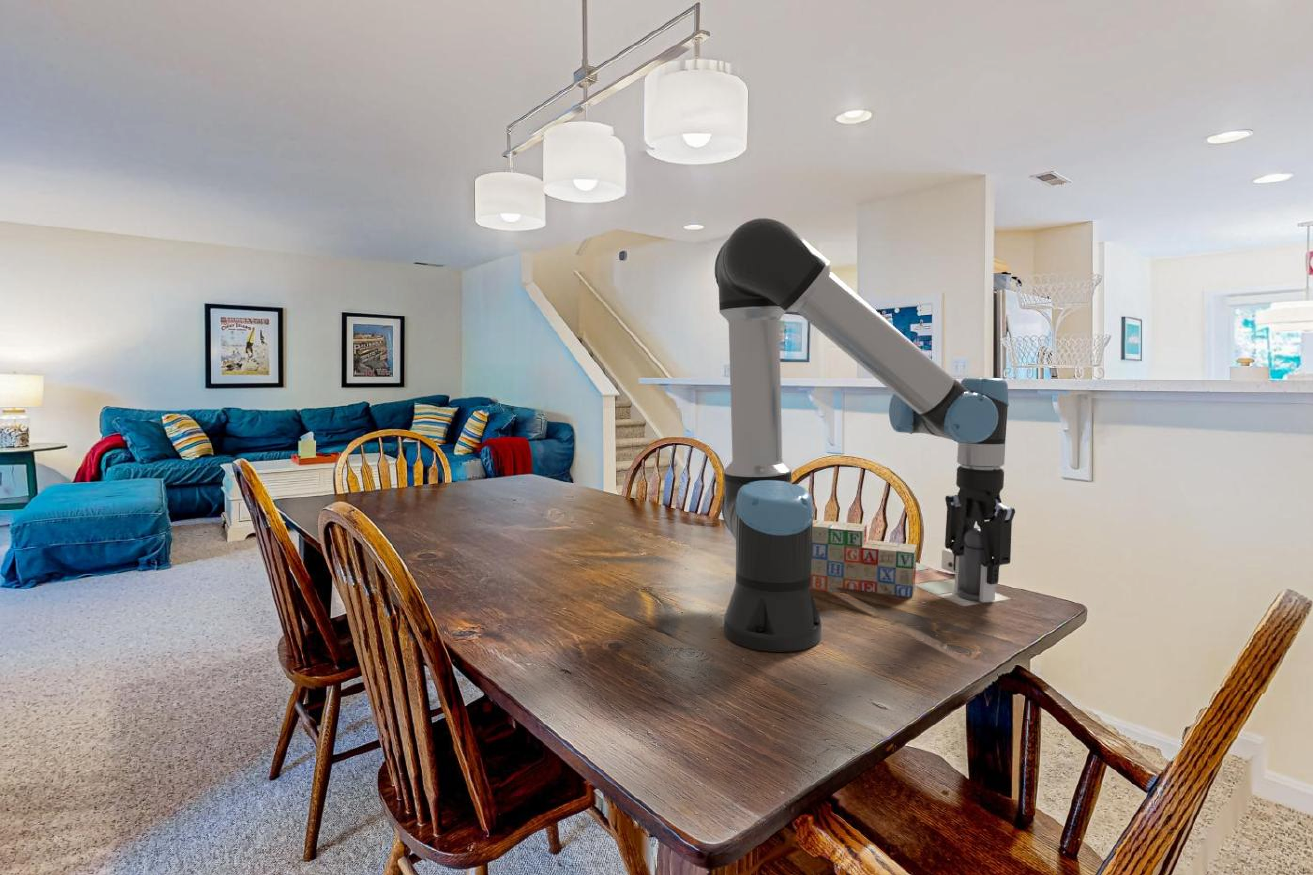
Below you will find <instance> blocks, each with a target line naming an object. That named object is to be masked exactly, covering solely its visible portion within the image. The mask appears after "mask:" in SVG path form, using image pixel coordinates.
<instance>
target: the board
mask: <svg viewBox="0 0 1313 875" xmlns="http://www.w3.org/2000/svg"><path fill="white" fill-rule="evenodd" d="M926 569H928V570H926ZM932 570H933V571H932ZM954 587H955V576H953V575H951V574H948V573H945V572H944V571H941V570H937V569H936V568H932V567H930V566H927V565H924V564H921V563H919V562H917V561H916V577H915V588H918V589H921V590H922V591H926V592H927V593H929V594H932V595H936V596H937V597H939V598H943V600H947V601H949V602H951V603H954V604H956V605H959V606H961V607H968V606H973V605H974V606H976V605H982V604H987V603H988V604H989V603H994V602H1000V601H1008V600H1012V598H1011V597H1008V596H1005V595H1003V594H1000V593H998V592H995V601H989V602H975V601H969V600H965V599H962V598H960V597H959V596H958V592H956V591H954Z"/></svg>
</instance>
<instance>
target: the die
mask: <svg viewBox="0 0 1313 875" xmlns="http://www.w3.org/2000/svg"><path fill="white" fill-rule="evenodd" d="M953 564H954V554H953V553H952V551H951V550H950V549H947V548H943V549H941V564H940V565H941V566H940V567H941V569H943V570H945V571H948V572H951V573H952V574H955V571H954V569H953Z"/></svg>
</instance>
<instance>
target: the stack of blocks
mask: <svg viewBox="0 0 1313 875" xmlns="http://www.w3.org/2000/svg"><path fill="white" fill-rule="evenodd" d="M867 527H868V526H867V524H865V523H855V522H854V523H853V522H846V521H845V522H843V521H830V520H817V519H813V524H812V562H811V590H814V591H820V592H821V591H823V592H828V591H829V593H835V592H836V594H844V593H845V595H848V593H847V592H845V591H843V590H841V589H848V590H855V591H861V592H862V591H863V592H870V593H877V594H881V595H882V594H883V595H889V596H899V597H905V598H906V597H907V598H913V597H914V593H915V591H916V590H915V589H916V586H915V577H916V562H917V550H918V549H917V547H918V545H917V544H912V543H911V544H910V543H900V542H892V541H882V540H871V539H868V540H867V533H868V532H867Z"/></svg>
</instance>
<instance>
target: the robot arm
mask: <svg viewBox="0 0 1313 875" xmlns="http://www.w3.org/2000/svg"><path fill="white" fill-rule="evenodd" d="M830 264H831V263H830V260H828V259H827V258H826V257H825V256H824V255H822V253H820V252H819V251H818V250H817V249H815V247H814V246H812V245H811V244H810V243H809V242H808V241H807V240H806V239H804V238H803V237H802V236H801V235H800V234H798V233H797V232H796V231H795V230H793V229H792V228H791V227H790V226H788V225H786V224H785V223H783V222H781V221H778V220H776V219H772V218H767V217H765V218H764V217H763V218H761V217H759V218H755V219H751V220H748V221H746V222H744V223H743V224H741V225H740V226H738V227H737V228H736V229H734V231H733V232H732V234H731V235H730V237H729V238H728V239H727V240H726V241H725V242H724V243H723V245H722V246H721V247H720V248H719V251H718V253H717V256H716V258H715V263H714V278H715V281H716V284H717V287H718V305H719V307H718V308H719V309H718V310H719V311H718V312H719V314H720V315H721V316H722V317H723V318H724V319H725V320H726V321H727V322H728V323H727V324H728V343H729V350H728V351H729V352H728V353H729V384H730V386H729V388H730V418H731V454H732V455H731V456H732V459H731V462H730V463H729V464H728V465H727V466H726V467H725V469H723V475H724V476H723V479H724V483H723V484H724V492H723V493H724V494H723V496H722V500H721V501H722V502H721V515H722V519H723V522H724V524H725V525H726V527H727V529H728V530H729V531H730V533H731V534H732V536H733V538H734V540H735V584H734V588H733V591H732V593H731V596H730V599H729V603H728V606H727V609H726V612H725V614H724V617H723V618H724V619H723V633H724V635H725V637H726V638H727V639H728V640H730V641H732V642H733V643H735V644H737V645H739V646H741V647H745V648H747V649H752V650H755V651H762V652H763V651H764V652H771V653H772V652H773V653H790V652H798V651H804V650H807V649H810V648H813V647H814V646H816V645H817V644H818V643H819V642H820V641H821V640H822V620H821V617H820V614H819V610H818V607H817V604H816V600H815V597H814V594H813V589H811V562H812V524H813V520H814V516H815V511H814V510H815V509H814V507H813V497H812V495H811V493H810V492H809V490H807V488H805V487H803V486H801V485H800V484H797V483H795V484H793V482H792V468H791V467H790V466H789V465H788V464H787V463H786V462H785V461H784V460H783V434H782V432H783V431H782V430H783V428H782V426H783V425H782V391H781V390H782V386H781V385H782V383H781V380H782V378H781V343H780V342H781V338H780V337H781V336H780V332H781V331H780V326H781V325H780V320H781V318H782V317H783V316H784V315H785V314H786V313H788V312H797V313H798V314H799V315H800V316H801V317H802V318H804V319H805V320H806V321H807V322H808V323H809V324H810V325H812V326H813V327H814V328H816V329H817V330H818V331H819V332H820V333H821V334H823V335H824V336H825V337H826V338H828V339H829V340H830V341H831V342H832V343H834V344H835V345H836V346H837V347H838V348H840V349H841V350H842V351H843V352H844V353H845V354H847V355H848V356H849V357H850V358H851V359H852V360H854V361H855V362H856V363H857V364H858V365H860V366H861V367H862V368H863V369H864V370H865V371H867V372H868V373H869V374H871V375H872V376H873V377H874V378H875V379H876V380H878V382H880V383H881V384H882V385H883V386H885V387H886V388H887V389H888V390H890V391H891V392H892V393H893V395H892V396H891V398H890V402H889V406H888V415H889V416H888V417H889V422H890V425H891V428H892V429H893V430H894V431H895V432H897V433H902V434H904V433H906V434H910V435H912V434H926V435H930V436H935V437H940V438H943V439H948V440H951V441H953V442H956V443H957V457H956V459H957V460H956V462H957V464H959V466H958V467H956V478H955V479H956V480H955V481H956V482H955V484H956V486H957V488H958V489H959V490H958V492H957V494H951V495H946V496H945V497H944V499H945V500H944V501H945V504H946V518H945V519H946V520H945V521H946V522H945V534H944V535H945V537H944V538H945V539H944V547H945V549H950V550H951V551H952V553H953V554H954V564H953V569H954V571H955V573H954V577H955V578H954V579H955V587H954V591H956V592H958V589H959V588H961V587H962V581H963V559H964V546H965V545H966V543H965V534H966V532H967V531H968V530H970V529H972V528H975V525H977V527H978V528H980V532H981V538H982V545H983V551H984V558H985V563H982V565H981V577H980V598H979V601H981V602H989V601H995V593H996V587H997V586H996V585H997V584H998V583H999V575H1000V566H1004V565H1009V564H1010V563H1011V556H1012V555H1011V554H1012V553H1011V552H1012V528H1013V527H1012V524H1013V519H1014V516H1015V514H1016V509H1015V508H1014V507H1013V506H1012V507H1008V506H1007V505H1004V504H1003V503H1002V498H1001V495H1000V494H1001V491H1002V490H1003V489H1004V485H1005V483H1004V481H1005V470H1004V469H1003V468H1002V467H1003V466H1004V465H1005V458H1006V438H1007V422H1008V410H1009V408H1008V407H1009V405H1010V404H1009V389H1008V388H1009V387H1008V382H1007V380H1005V379H1004V378H1001V377H999V378H998V377H965V378H963V379H962V380H961V382H959V381H958V380H957V379H956V378H954V377H953V376H952V375H951V374H950V373H949V372H947V371H946V370H945V369H944V368H942V366H940V365H939V364H938V363H937V362H936V361H935V360H934V359H932V358H931V357H930V356H928V354H926V353H925V352H924V351H923V349H921V348H919V346H917V345H916V344H915V343H913V341H911V340H910V339H909V338H908V337H907V336H906V335H904V333H902V332H901V331H899V329H897V328H896V327H895V326H894V325H893V324H892V323H891V322H889V321H888V320H887V319H886V318H885V317H884V316H882V315H881V313H879V312H878V311H877V310H876V309H874V308H873V307H872V306H871V305H870V304H868V303H867V302H866V301H865V300H864V299H863V298H861V296H859V295H858V294H857V293H855V292H854V291H853V290H852V289H851V288H850V287H849V286H847V285H846V284H845V283H844V282H843V281H842V280H841V279H839V277H837V276H836V275H835V274H834V273H833V272H832V271H831V269H830V268H831V265H830ZM956 592H955V593H956ZM995 602H996V601H995ZM989 603H990V602H989Z"/></svg>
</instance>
